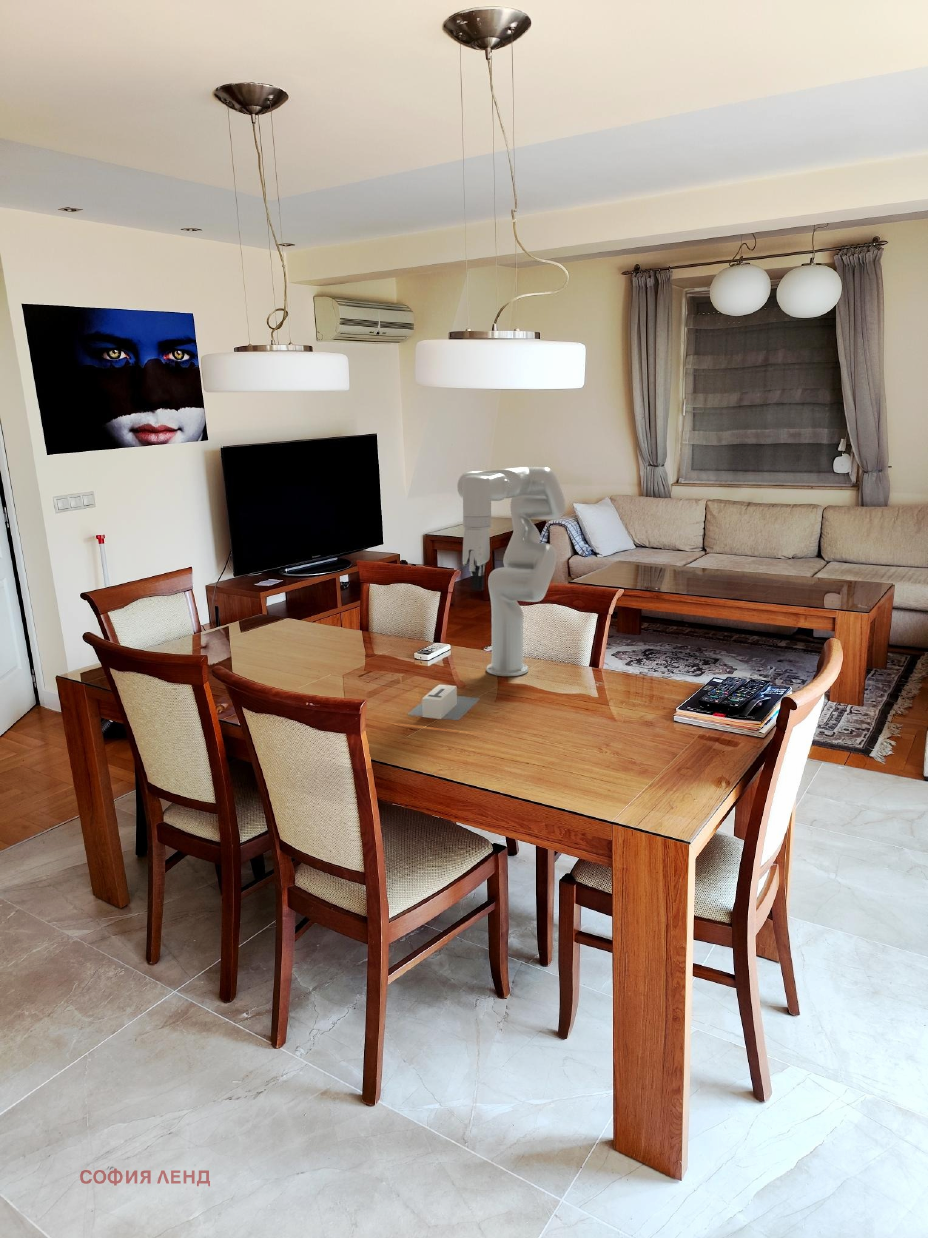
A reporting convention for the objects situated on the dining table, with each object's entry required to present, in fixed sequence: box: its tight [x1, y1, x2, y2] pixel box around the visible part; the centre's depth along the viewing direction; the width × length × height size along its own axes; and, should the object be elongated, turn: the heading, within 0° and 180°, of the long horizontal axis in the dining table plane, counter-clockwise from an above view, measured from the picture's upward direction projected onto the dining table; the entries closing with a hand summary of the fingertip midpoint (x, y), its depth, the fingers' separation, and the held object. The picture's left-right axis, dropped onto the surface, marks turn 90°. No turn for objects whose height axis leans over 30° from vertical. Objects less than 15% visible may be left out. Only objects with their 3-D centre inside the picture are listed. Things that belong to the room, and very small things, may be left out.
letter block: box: [421, 684, 458, 720], centre depth 220 cm, size 5×5×12 cm
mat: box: [407, 695, 481, 721], centre depth 223 cm, size 18×14×1 cm
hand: (477, 589), depth 230 cm, fingers closed
